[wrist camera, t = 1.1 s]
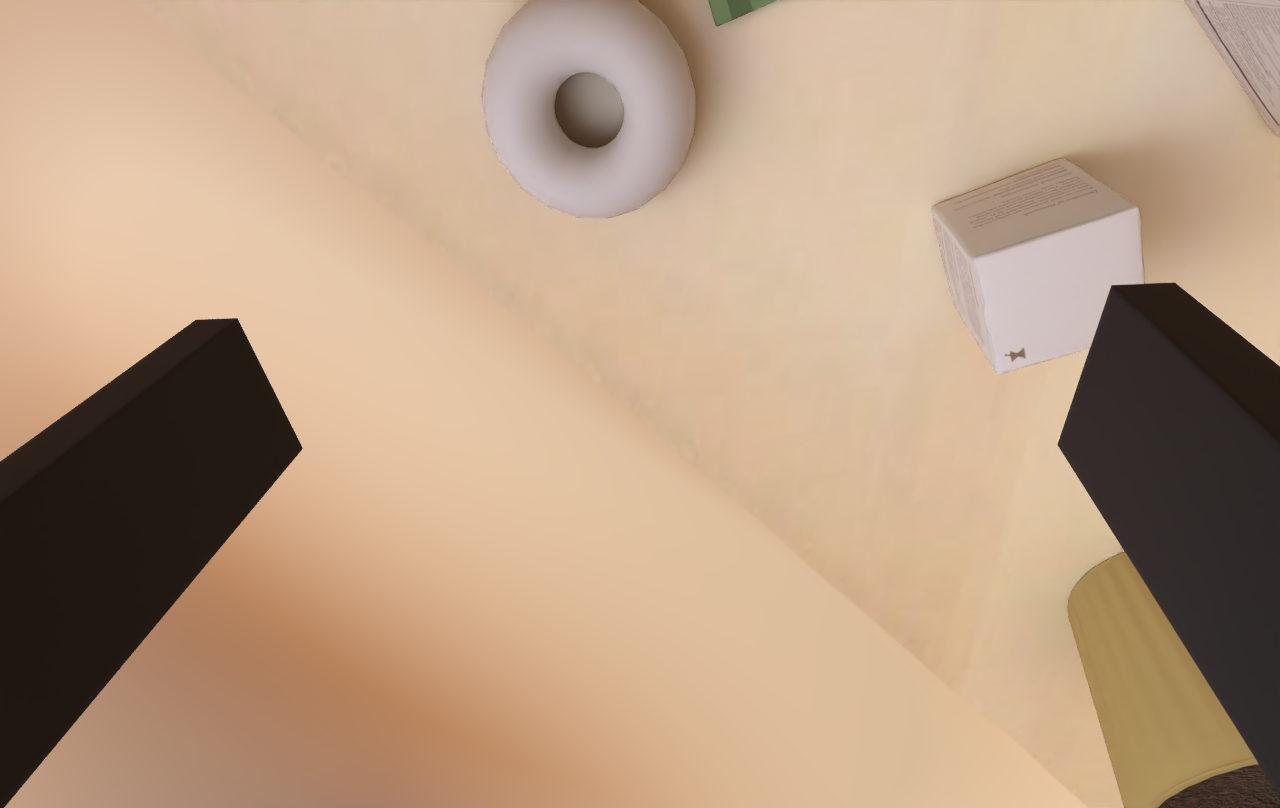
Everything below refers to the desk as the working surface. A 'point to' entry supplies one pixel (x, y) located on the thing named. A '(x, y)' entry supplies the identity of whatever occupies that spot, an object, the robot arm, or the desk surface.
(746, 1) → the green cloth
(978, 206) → the product box
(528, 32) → the donut
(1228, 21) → the supplement box
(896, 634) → the desk surface
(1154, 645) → the potted cactus
